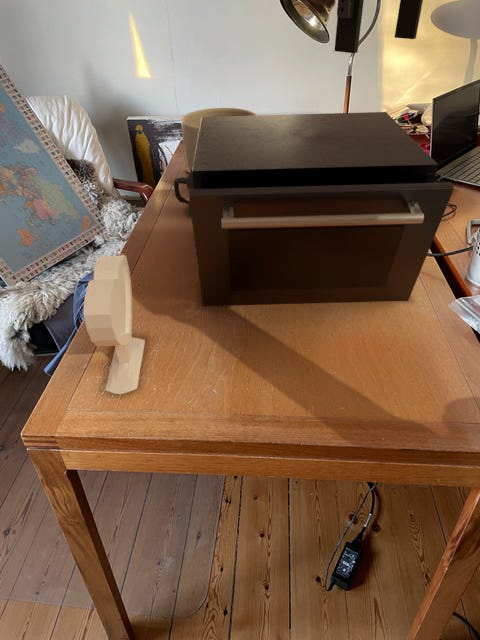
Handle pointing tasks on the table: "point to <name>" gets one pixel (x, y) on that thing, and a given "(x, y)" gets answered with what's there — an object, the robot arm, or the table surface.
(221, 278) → the oven door
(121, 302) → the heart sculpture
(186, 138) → the planter
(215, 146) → the oven
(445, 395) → the table surface
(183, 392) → the table surface
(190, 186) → the mug
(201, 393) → the table surface
